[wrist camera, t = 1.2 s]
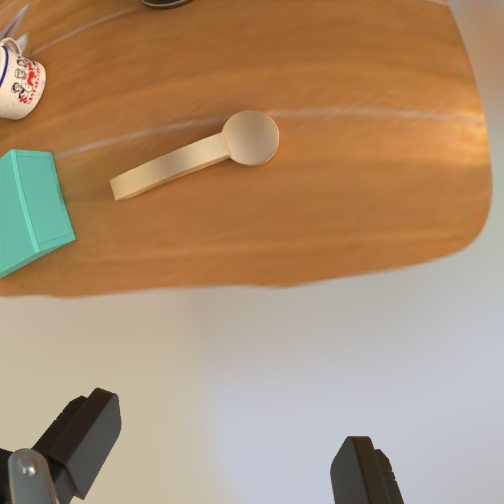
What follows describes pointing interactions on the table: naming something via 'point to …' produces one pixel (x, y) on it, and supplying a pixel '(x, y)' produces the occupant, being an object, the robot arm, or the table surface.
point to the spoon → (205, 154)
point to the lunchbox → (43, 203)
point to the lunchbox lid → (14, 216)
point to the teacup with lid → (18, 81)
